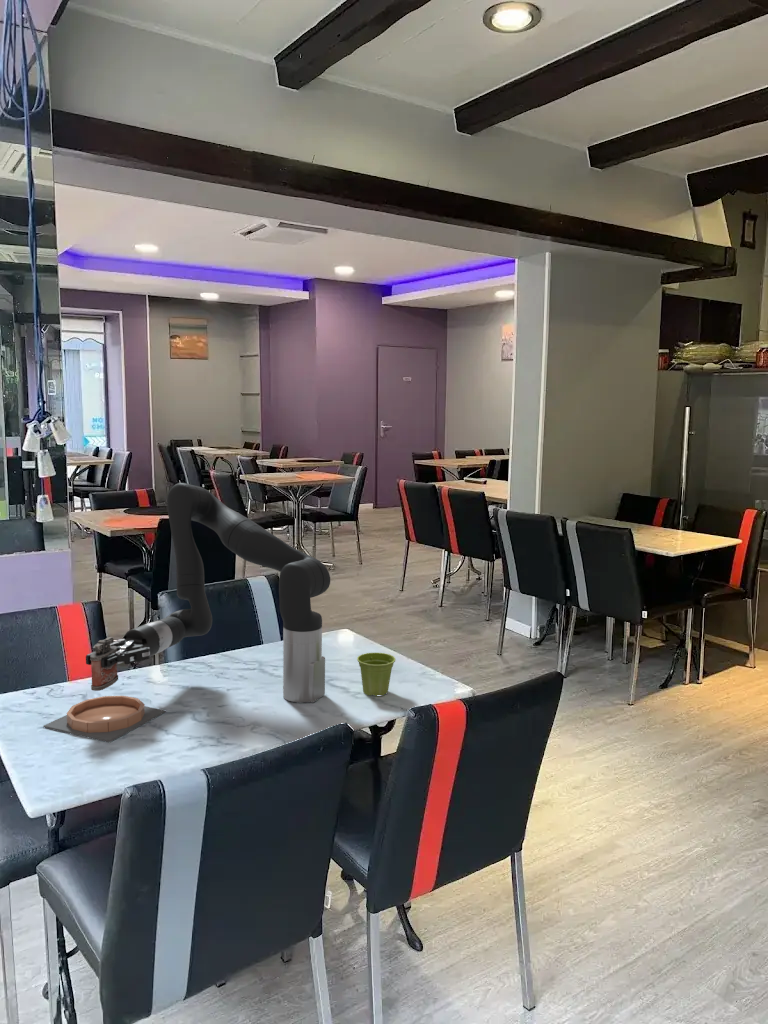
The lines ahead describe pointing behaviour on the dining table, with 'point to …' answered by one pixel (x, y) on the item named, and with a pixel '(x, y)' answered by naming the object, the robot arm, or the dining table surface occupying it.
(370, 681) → the plant pot
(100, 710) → the dish
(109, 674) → the lighter
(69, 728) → the mat
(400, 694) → the dining table surface
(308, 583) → the robot arm
